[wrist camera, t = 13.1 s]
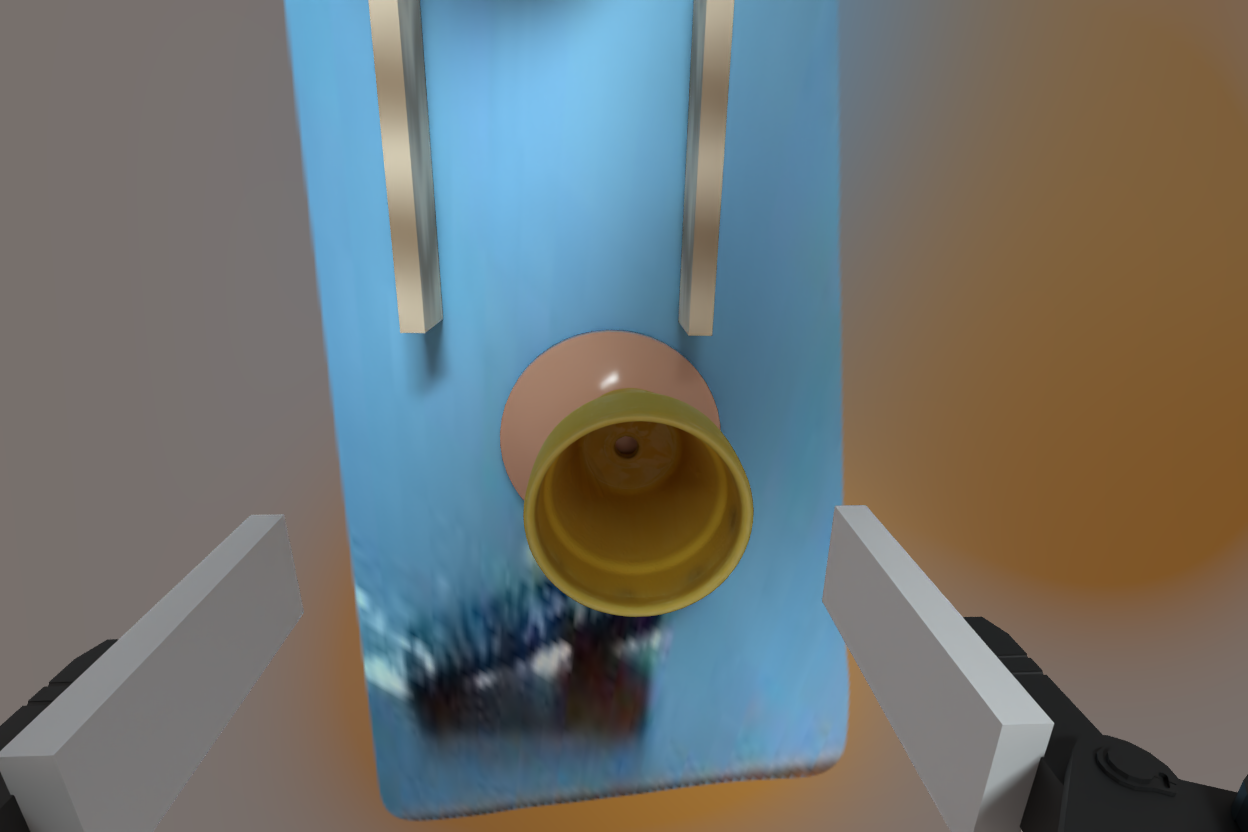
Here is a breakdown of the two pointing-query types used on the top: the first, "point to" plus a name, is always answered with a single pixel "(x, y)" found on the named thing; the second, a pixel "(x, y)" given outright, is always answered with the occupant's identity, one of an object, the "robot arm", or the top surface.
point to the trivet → (591, 389)
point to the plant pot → (637, 505)
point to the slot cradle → (413, 179)
